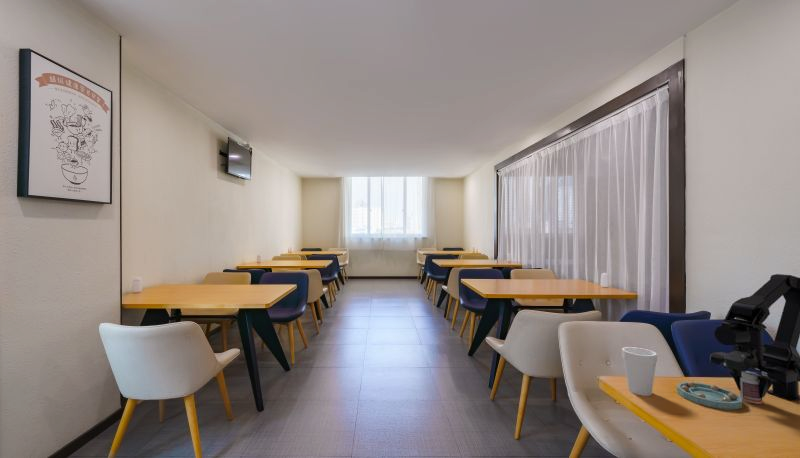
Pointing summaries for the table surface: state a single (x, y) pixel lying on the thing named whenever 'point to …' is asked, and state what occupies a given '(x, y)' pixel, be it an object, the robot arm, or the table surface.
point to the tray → (709, 395)
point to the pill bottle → (750, 387)
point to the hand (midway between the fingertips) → (751, 394)
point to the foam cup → (639, 369)
